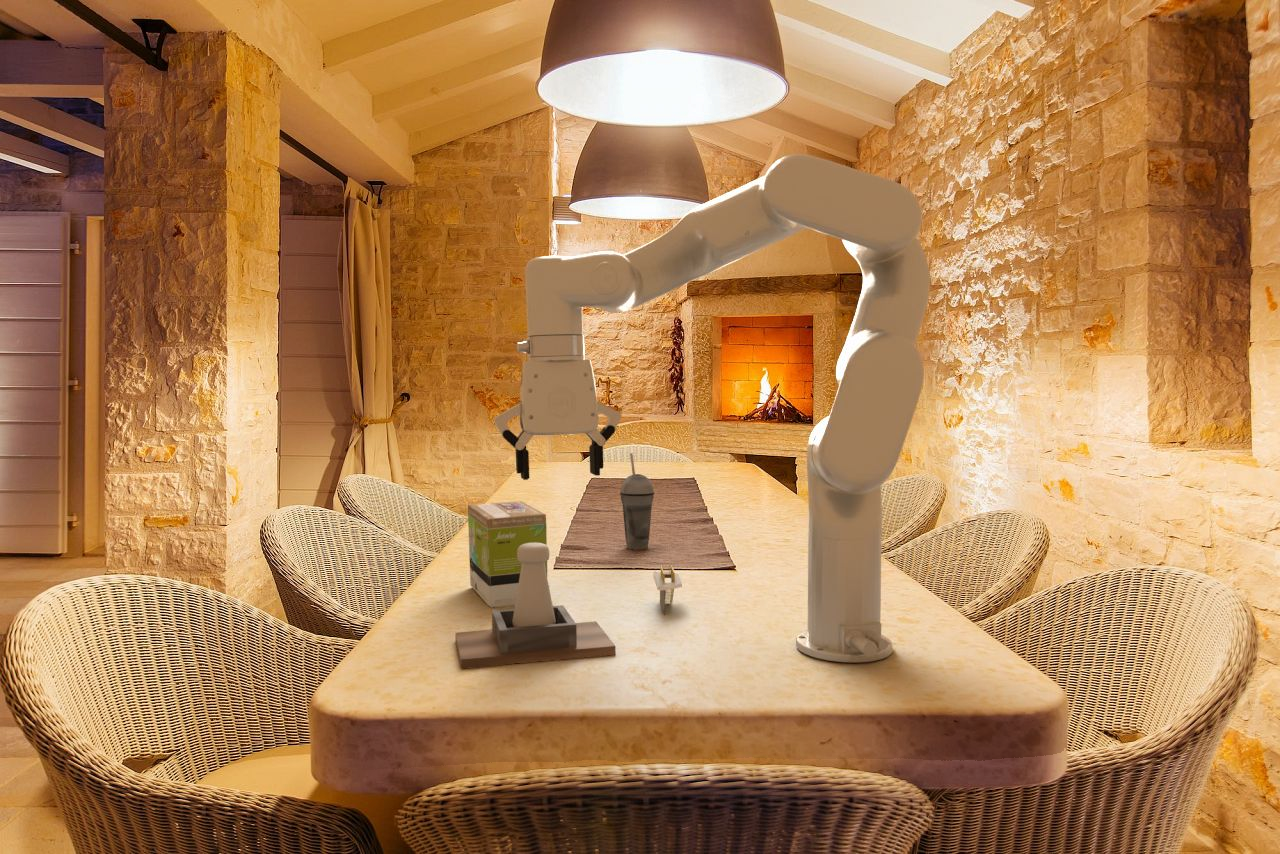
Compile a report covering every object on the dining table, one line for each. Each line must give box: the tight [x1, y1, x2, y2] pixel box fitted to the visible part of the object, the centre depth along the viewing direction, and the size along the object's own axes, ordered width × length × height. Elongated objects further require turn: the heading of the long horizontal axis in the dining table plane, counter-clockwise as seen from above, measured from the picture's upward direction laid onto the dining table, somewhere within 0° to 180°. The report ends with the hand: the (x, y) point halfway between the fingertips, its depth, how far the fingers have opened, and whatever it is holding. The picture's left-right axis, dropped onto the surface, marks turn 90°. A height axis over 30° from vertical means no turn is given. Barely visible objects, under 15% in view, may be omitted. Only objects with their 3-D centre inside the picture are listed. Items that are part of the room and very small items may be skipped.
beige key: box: [652, 564, 683, 616], centre depth 142 cm, size 12×18×7 cm, turn 3°
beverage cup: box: [619, 452, 655, 551], centre depth 189 cm, size 7×7×20 cm
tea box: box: [467, 500, 548, 609], centre depth 150 cm, size 15×10×15 cm, turn 23°
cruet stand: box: [454, 604, 617, 669], centre depth 122 cm, size 12×20×4 cm, turn 105°
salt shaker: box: [512, 543, 556, 627], centre depth 121 cm, size 6×6×13 cm
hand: (560, 476), depth 122 cm, fingers open, 9 cm apart
